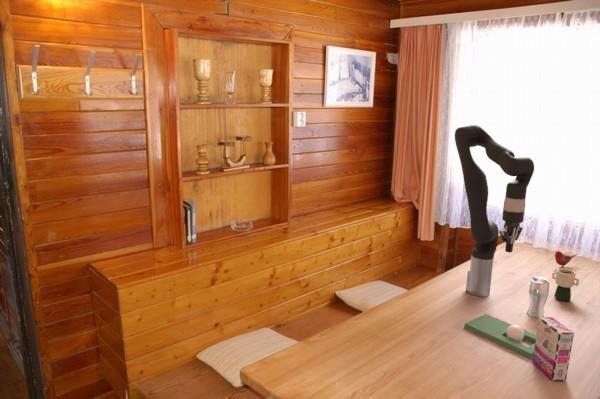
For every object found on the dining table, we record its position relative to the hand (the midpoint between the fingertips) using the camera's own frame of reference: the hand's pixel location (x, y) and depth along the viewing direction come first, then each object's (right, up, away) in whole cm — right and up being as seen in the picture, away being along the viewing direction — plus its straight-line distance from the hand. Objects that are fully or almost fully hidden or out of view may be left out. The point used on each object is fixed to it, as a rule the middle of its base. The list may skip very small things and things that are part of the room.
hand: (508, 251), depth 184 cm
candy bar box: (-1, -35, -32) cm, 48 cm away
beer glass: (+14, -27, +7) cm, 31 cm away
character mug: (+33, -23, +22) cm, 46 cm away
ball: (-4, -28, -15) cm, 32 cm away
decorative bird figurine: (+56, -15, +60) cm, 83 cm away
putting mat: (-6, -30, -11) cm, 33 cm away
